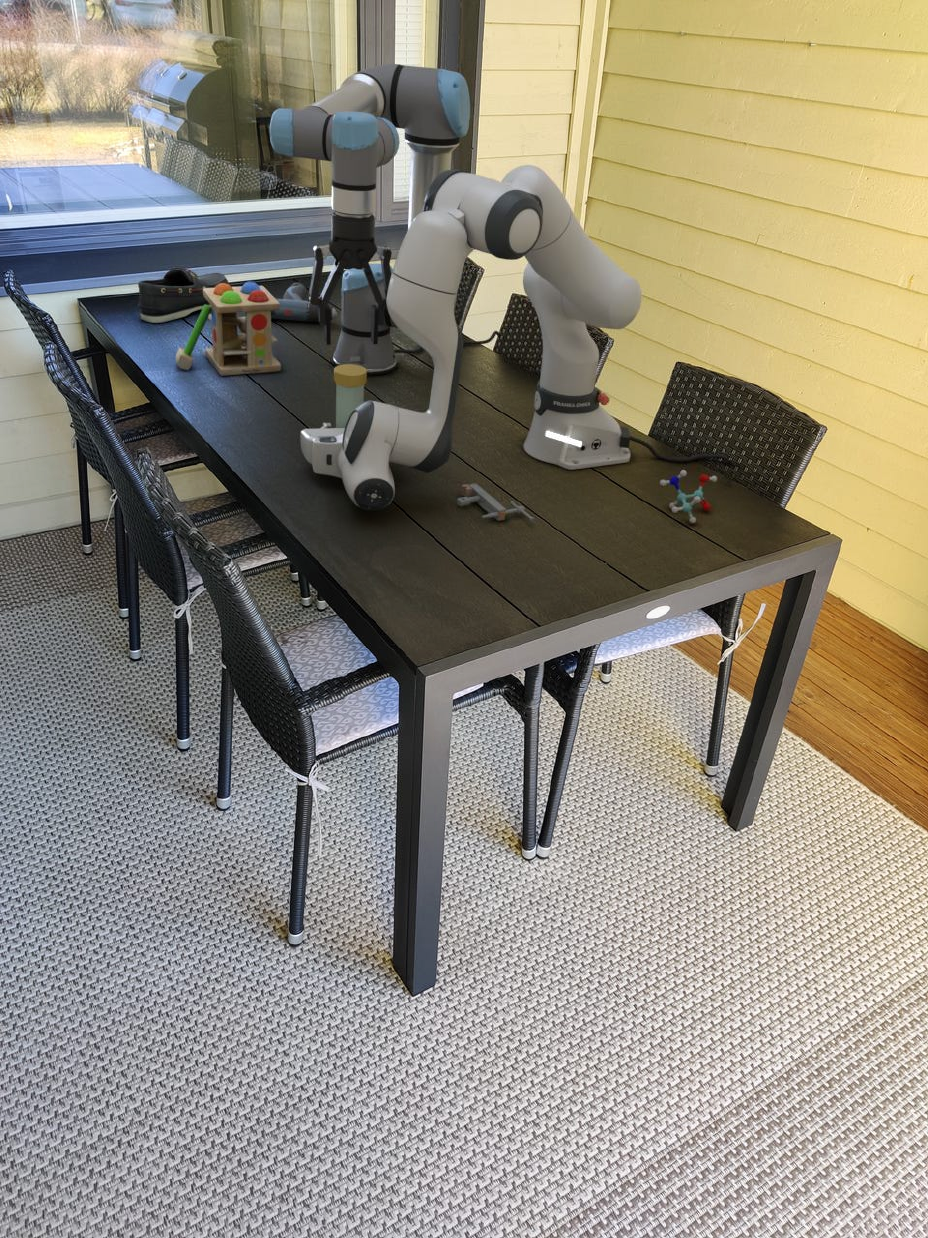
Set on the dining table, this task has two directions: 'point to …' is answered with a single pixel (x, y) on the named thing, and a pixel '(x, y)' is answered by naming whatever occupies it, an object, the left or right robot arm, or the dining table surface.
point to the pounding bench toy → (229, 347)
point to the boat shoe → (175, 294)
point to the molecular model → (683, 497)
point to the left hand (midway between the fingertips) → (350, 341)
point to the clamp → (488, 503)
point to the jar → (347, 402)
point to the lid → (350, 375)
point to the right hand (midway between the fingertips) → (348, 425)
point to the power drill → (298, 306)
